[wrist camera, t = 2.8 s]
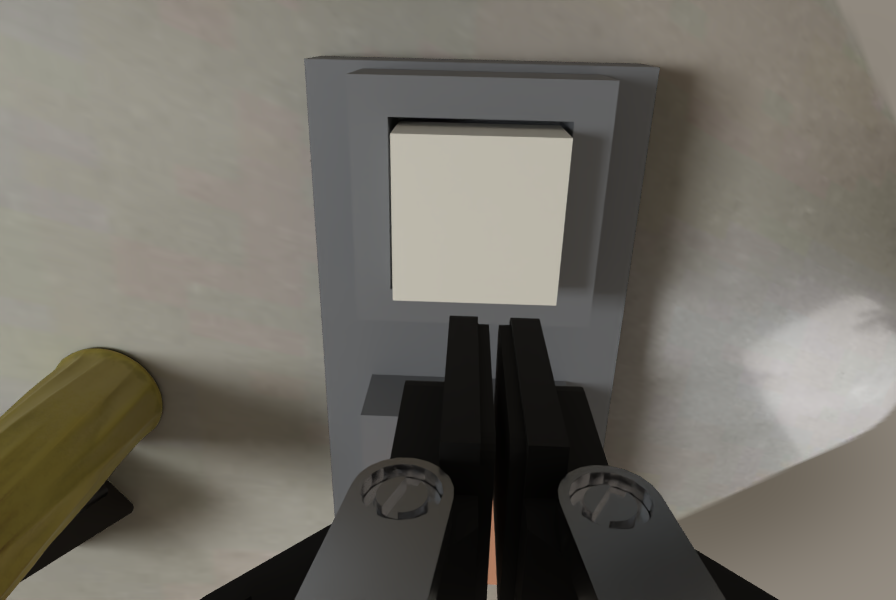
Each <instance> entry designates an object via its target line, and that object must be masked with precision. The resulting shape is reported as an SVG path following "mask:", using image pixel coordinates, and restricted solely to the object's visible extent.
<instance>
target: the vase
mask: <svg viewBox="0 0 896 600" xmlns="http://www.w3.org/2000/svg"><path fill="white" fill-rule="evenodd" d="M162 409H163V405H162V397H161V393H160V390H159V388H158V386H157V384H156V382H155V381H154V379H153V378H152V376H151V375H150V374H149V373H148V372H147V371H146V370H145V369H144V368H143V367H142V366H141V365H140V364H139V363H137V362H136V361H134V360H133V359H131V358H129V357H127V356H125V355H123V354H121V353H118V352H115V351H112V350H107V349H100V348H92V349H84V350H80V351H77V352H75V353H72V354H71V355H69V356H67V357H66V358H64V359H62V361H61V362H60V363H59V364H58V366H57V367H56V369H55V370H54V371H53V372H52V373H50V374H49V375H48V376H46V377H45V378H44V379H43V380H41V381H40V382H39V383H38V384H37V385H35V386H34V387H33V388H32V389H31V390H29V391H28V392H27V393H26V394H25V395H24V396H23V397H21V398H20V399H19V400H18V401H17V402H16V403H15V404H14V405H13V406H12V407H11V408H10V409H9V410H7V411H6V412H5V413H4V414H3V415H2V416H1V417H0V600H5V599H6V598H7V597H8V596H9V595H10V593H11V592H12V591H13V590H14V589H15V587H16V586H17V585H18V584H19V583H20V581H21V580H22V579H23V578H24V577H25V575H26V574H27V573H28V572H29V571H30V569H31V568H32V567H33V566H34V564H35V563H36V562H37V561H38V559H39V558H40V557H41V555H42V554H43V553H44V551H45V550H46V549H47V548H48V546H49V545H50V544H51V543H52V542H53V541H54V540H55V538H56V537H57V536H58V535H59V534H60V533H61V532H62V531H63V530H64V529H65V528H66V526H67V525H68V524H69V523H70V522H71V521H72V520H73V518H74V517H75V516H76V515H77V514H78V513H79V512H80V510H81V509H82V508H83V507H84V506H85V505H86V503H87V502H88V501H89V500H90V499H91V498H92V497H93V495H94V494H95V493H96V492H97V491H98V490H99V489H100V487H101V486H102V485H103V484H104V483H105V481H106V480H107V479H108V477H109V476H110V475H111V474H112V472H113V471H114V470H115V468H116V467H117V466H118V465H119V464H120V463H121V461H122V460H123V459H124V458H125V457H126V456H127V455H128V454H129V453H130V451H131V450H132V449H133V448H134V447H135V446H136V445H137V444H138V443H139V441H140V440H142V439H143V438H144V437H145V436H146V435H147V434H149V433H150V432H151V431H152V430H153V429H154V428H155V427H156V426H157V425H158V423H159V421H160V418H161V415H162Z"/></svg>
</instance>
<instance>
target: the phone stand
mask: <svg viewBox="0 0 896 600" xmlns="http://www.w3.org/2000/svg"><path fill="white" fill-rule="evenodd" d="M132 511H133V505H132V503H131V502H130V501H129V500H128V499H127V498H125V497H124V496H123V495H122V494H121V493H120V492H119V491H118V490H117V489H116V488H115V487H114V486H113V485H112V484H111V483H110V482H109V481H108V480H106V481H105V483H104V484H103V485H102V486H101V487H100V489H99V490H98V491H97V492H96V493H95V494H94V495H93V497H92V498H91V499H90V500H89V501H88V502H87V503H86V505H85V506H84V507H83V508H82V509H81V510H80V512H79V513H78V514H77V515H76V516H75V517H74V518H73V520H72V521H71V522H70V523H69V524H68V525H67V526H66V528H65V529H64V530H63V531H62V532H61V533H60V534H59V535H58V536H57V537H56V538H55V540H54V541H53V542H52V543H51V544H50V545H49V546H48V548H47V549H46V550H45V551H44V553H43V554H42V555H41V557H40V558H39V559H38V561H37V562H36V563H35V564H34V566H33V567H32V568H31V569H30V571H29V572H28V573H27V574H26V575H25V577H24V578H23V579H22V580H21V581H23V580H24V579H26V578H28V577H29V576H31V575H32V574H34V573H36V572H37V571H39V570H40V569H42V568H43V567H45V566H47V565H48V564H50V563H51V562H53V561H55V560H56V559H58V558H59V557H61V556H63V555H64V554H66V553H67V552H69V551H71V550H72V549H74V548H75V547H77V546H79V545H80V544H82V543H83V542H85V541H87V540H88V539H90V538H91V537H93V536H95V535H96V534H98V533H99V532H101V531H103V530H104V529H106V528H107V527H109V526H111V525H112V524H114V523H115V522H117V521H119V520H120V519H122V518H123V517H125V516H127V515H128V514H130V513H131V512H132ZM21 581H20V582H21Z"/></svg>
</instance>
